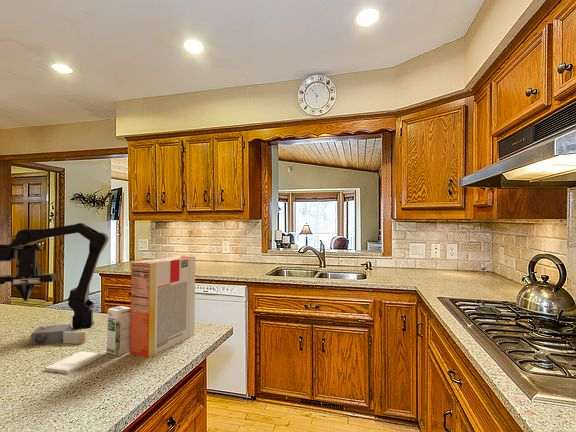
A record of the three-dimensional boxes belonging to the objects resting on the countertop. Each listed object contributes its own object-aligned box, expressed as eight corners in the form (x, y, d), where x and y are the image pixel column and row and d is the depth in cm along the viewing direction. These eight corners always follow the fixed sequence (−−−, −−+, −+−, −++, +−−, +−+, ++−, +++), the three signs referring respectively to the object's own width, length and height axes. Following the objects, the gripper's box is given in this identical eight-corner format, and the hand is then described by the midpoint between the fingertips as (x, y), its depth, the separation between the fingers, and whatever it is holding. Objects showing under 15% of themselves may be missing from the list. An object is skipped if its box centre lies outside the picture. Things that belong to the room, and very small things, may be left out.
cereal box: (177, 332, 130) (178, 256, 130) (194, 334, 126) (195, 257, 127) (129, 353, 108) (131, 262, 109) (148, 357, 105) (150, 263, 106)
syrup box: (105, 353, 108) (106, 308, 109) (122, 347, 114) (122, 305, 114) (116, 356, 106) (117, 311, 106) (132, 350, 111) (133, 307, 111)
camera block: (70, 334, 126) (71, 322, 126) (63, 342, 117) (63, 330, 117) (39, 337, 122) (39, 325, 122) (29, 346, 114) (29, 332, 114)
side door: (84, 342, 117) (84, 332, 117) (59, 342, 116) (59, 332, 116) (86, 341, 118) (86, 331, 118) (62, 341, 118) (62, 331, 118)
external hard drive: (101, 358, 105) (67, 375, 93) (79, 356, 107) (44, 372, 95) (101, 353, 106) (67, 369, 93) (79, 351, 107) (44, 367, 95)
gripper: (61, 258, 140) (60, 294, 140) (7, 259, 134) (6, 297, 134) (52, 261, 130) (51, 300, 129) (-7, 262, 124) (-8, 304, 123)
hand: (25, 300), depth 129 cm, fingers closed
